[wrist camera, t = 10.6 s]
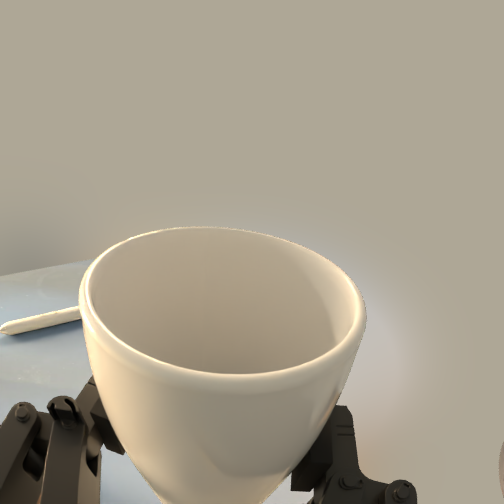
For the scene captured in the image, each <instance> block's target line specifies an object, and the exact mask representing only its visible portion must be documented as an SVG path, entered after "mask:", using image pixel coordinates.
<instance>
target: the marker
mask: <svg viewBox="0 0 504 504" xmlns="http://www.w3.org/2000/svg"><path fill="white" fill-rule="evenodd" d="M78 319H82V318H81V313H80V307H79V306H77V307H72V308H68V309H64V310H59V311H55V312H54V311H53V312H51V313H46V314H42V315H40V314H39V315H37V316H32V317H28V318H24V319H19V320H15V321H10V322H7V323H5V324H4V325H3V326H2V327H1V328H0V332H1V333H3V334H6V335H13V334H18V333H22V332H27V331H31V330H35V329H40V328H44V327H48V326H53V325H57V324H61V323H66V322H70V321H74V320H78Z"/></svg>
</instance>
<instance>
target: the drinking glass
mask: <svg viewBox="0 0 504 504" xmlns="http://www.w3.org/2000/svg"><path fill="white" fill-rule="evenodd" d="M79 307H80V313H81V318H82V325H83V331H84V337H85V343H86V348H87V352H88V357H89V361H90V365H91V369H92V373H93V377H94V380H95V384H96V387H97V390H98V393H99V396H100V399H101V402H102V405H103V407H104V410H105V412H106V415H107V417H108V419H109V421H110V424H111V426H112V428H113V430H114V432H115V434H116V436H117V438H118V439H119V441H120V443H121V445H122V447H123V448H124V450H125V452H126V453H127V455H128V456H129V458H130V459H131V461H132V462H133V464H134V465H135V467H136V468H137V470H138V471H139V473H140V474H141V475H142V477H143V478H144V480H145V481H146V482H147V484H148V485H149V486H150V488H151V489H152V490H153V492H154V493H155V495H156V496H157V497H158V498H159V500H160V501H161V502H162V504H262V503H263V502H264V501H265V500H266V499H267V498H268V497H269V496H270V495H271V494H272V493H273V492H274V491H275V490H276V489H277V488H278V486H279V485H280V484H281V483H282V482H283V481H284V480H285V479H286V478H287V477H288V476H289V474H290V473H291V472H292V471H293V470H294V469H295V468H296V466H297V465H298V464H299V463H300V462H301V460H302V459H303V458H304V457H305V455H306V454H307V453H308V451H309V450H310V448H311V447H312V445H313V444H314V442H315V441H316V439H317V438H318V436H319V435H320V433H321V431H322V430H323V428H324V426H325V424H326V423H327V421H328V419H329V417H330V415H331V413H332V411H333V409H334V407H335V405H336V403H337V401H338V399H339V397H340V394H341V392H342V390H343V388H344V385H345V383H346V380H347V378H348V375H349V373H350V370H351V367H352V364H353V362H354V359H355V356H356V353H357V350H358V348H359V345H360V342H361V340H362V337H363V334H364V331H365V327H366V319H367V316H366V307H365V303H364V300H363V297H362V295H361V293H360V291H359V289H358V288H357V286H356V285H355V283H354V282H353V281H352V279H351V278H350V277H349V276H348V275H347V274H346V273H345V272H344V271H343V270H342V269H340V268H339V267H338V266H337V265H335V264H334V263H332V262H331V261H330V260H328V259H326V258H325V257H323V256H321V255H320V254H318V253H316V252H314V251H312V250H310V249H308V248H306V247H303V246H301V245H299V244H296V243H293V242H291V241H288V240H284V239H281V238H278V237H275V236H271V235H267V234H262V233H258V232H253V231H247V230H240V229H233V228H223V227H181V228H171V229H163V230H158V231H153V232H148V233H144V234H141V235H138V236H135V237H132V238H129V239H127V240H124V241H122V242H120V243H118V244H116V245H114V246H112V247H111V248H109V249H108V250H106V251H105V252H103V253H102V254H101V255H100V256H98V257H97V258H96V259H95V260H94V261H93V262H92V264H91V265H90V266H89V268H88V269H87V271H86V272H85V274H84V276H83V279H82V281H81V284H80V290H79Z"/></svg>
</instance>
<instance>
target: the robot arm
mask: <svg viewBox="0 0 504 504" xmlns="http://www.w3.org/2000/svg"><path fill="white" fill-rule="evenodd" d="M47 409H48V411H49V413H44V412H38V411H36V409H35V407H34V406H33V405H32V404H30V403H28V402H19V403H17V404H15V405H14V406H13V407H12V408H11V410H10V412H9V413H8V415H7V416H6V418H5V420H4V421H3V423H2V425H1V426H0V504H37V501H38V499H39V496H40V494H41V499H40V504H100V478H101V459H102V455H101V451H100V449H101V447H102V445H103V443H104V445H105V447H106V449H108V450H111V451H113V452H116V453H118V454H121V455H124V453H125V450H124V448H123V447H122V445H121V443H120V441H119V439H118V438H117V436H116V434H115V432H114V430H113V428H112V426H111V424H110V421H109V419H108V417H107V415H106V412H105V410H104V407H103V405H102V402H101V399H100V396H99V393H98V390H97V387H96V384H95V380H94V377H93V375H92V377H91V378H90V379H89V381H88V383H87V384H86V385H85V387H84V388H83V390H82V391H81V392H80V394H79V395H78V397H77V398H76V400H74V399H73V398H71V397H68V396H58V397H55V398H53V399H52V400H51V401H50V402H49V403H48V405H47ZM353 426H354V425H353V418H352V415H351V413H350V411H349V410H348V408H347V406H339V405H335V407H334V409H333V411H332V413H331V415H330V417H329V419H328V421H327V423H326V424H325V426H324V428H323V430H322V431H321V433H320V435H319V436H318V438H317V439H316V441H315V442H314V444H313V445H312V447H311V448H310V450H309V451H308V453H307V454H306V455H305V457H304V458H303V459H302V460H301V462H300V463H299V464H298V465H297V466H296V468H295V469H294V470H293V471H292V475H291V491H303V492H310V491H311V490H312V489H313V488H314V496H313V498H312V499H311V500H310V501H309V502H308V503H307V504H417V494H416V490H415V487H414V486H413V485H412V484H411V483H410V482H408V481H406V480H396V481H393V482H392V483H391V484H386V483H381V482H378V481H373V480H371V479H369V478H367V477H366V476H364V474H363V473H362V472H361V470H360V469H359V465H358V457H357V449H356V441H355V436H354V434H355V433H354V428H353Z"/></svg>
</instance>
